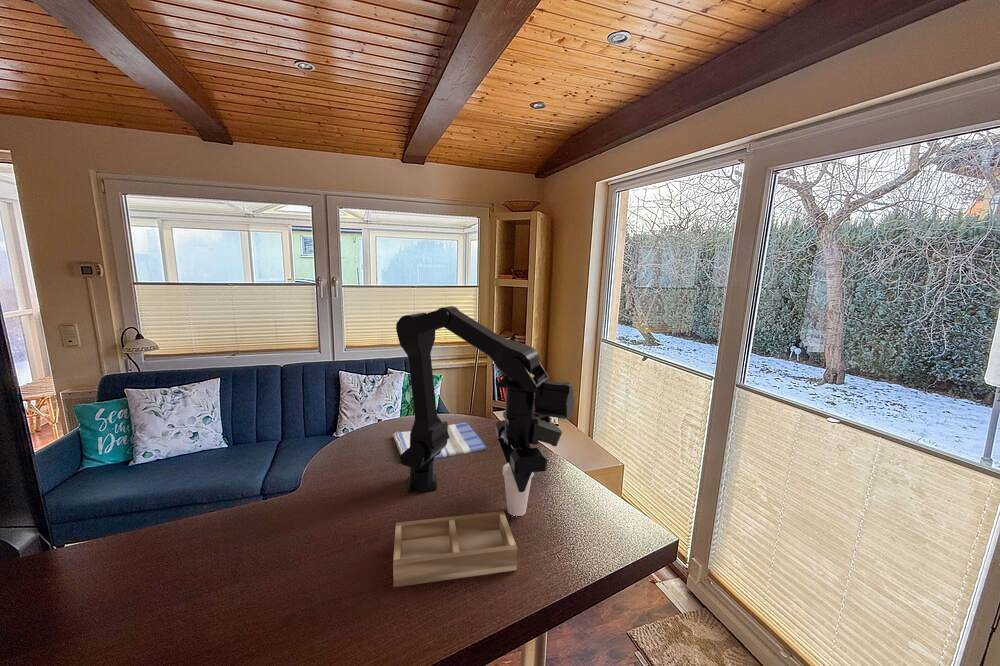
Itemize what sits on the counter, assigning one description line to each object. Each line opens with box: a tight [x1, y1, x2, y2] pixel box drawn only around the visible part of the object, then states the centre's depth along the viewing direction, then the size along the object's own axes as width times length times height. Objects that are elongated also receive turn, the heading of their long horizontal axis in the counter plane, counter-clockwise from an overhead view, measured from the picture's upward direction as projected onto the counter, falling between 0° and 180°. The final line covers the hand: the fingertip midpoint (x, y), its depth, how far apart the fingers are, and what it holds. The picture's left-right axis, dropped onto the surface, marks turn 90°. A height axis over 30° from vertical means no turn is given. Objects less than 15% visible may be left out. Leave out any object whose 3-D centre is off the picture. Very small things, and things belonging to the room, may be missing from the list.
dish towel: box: [391, 422, 487, 460], centre depth 114 cm, size 17×24×3 cm
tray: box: [392, 511, 518, 588], centre depth 70 cm, size 10×20×4 cm, turn 102°
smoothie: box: [501, 462, 535, 518], centre depth 82 cm, size 6×6×14 cm
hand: (517, 482), depth 83 cm, fingers closed on smoothie, 6 cm apart
